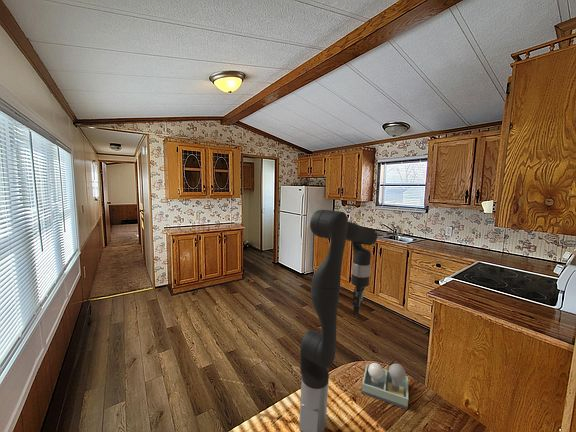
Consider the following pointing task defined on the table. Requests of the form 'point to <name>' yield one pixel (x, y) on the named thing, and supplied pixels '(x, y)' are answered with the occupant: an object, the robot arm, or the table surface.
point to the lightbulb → (396, 375)
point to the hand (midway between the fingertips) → (357, 309)
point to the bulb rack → (384, 386)
